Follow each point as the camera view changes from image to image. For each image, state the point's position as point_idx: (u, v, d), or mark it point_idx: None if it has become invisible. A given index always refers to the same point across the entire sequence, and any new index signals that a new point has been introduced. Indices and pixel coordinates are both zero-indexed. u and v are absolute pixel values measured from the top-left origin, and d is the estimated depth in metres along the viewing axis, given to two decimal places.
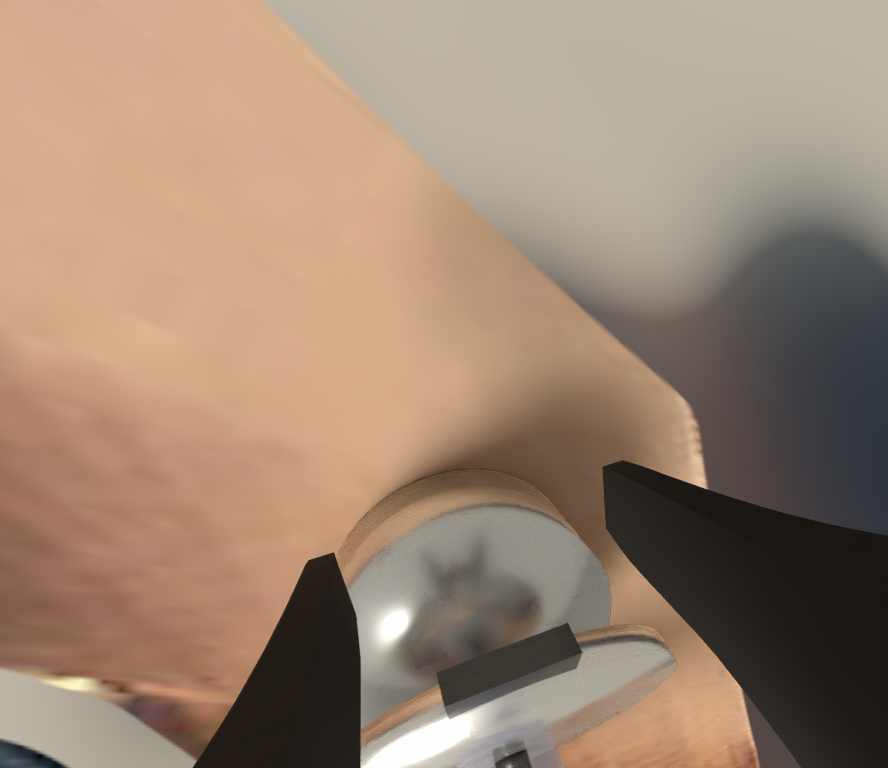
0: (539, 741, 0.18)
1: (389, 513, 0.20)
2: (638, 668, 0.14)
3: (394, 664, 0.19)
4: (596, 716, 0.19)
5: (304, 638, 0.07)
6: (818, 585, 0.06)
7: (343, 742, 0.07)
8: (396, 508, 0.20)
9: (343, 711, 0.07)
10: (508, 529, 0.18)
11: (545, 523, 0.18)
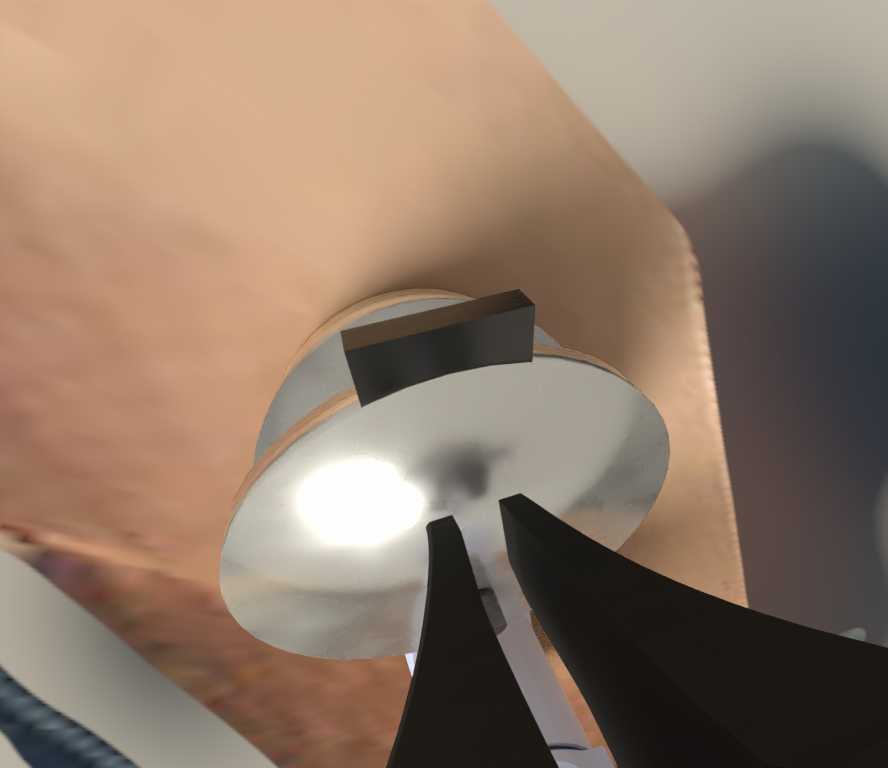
0: (508, 574, 0.15)
1: (334, 320, 0.17)
2: (619, 421, 0.12)
3: None
4: None
5: (466, 582, 0.07)
6: (638, 657, 0.05)
7: None
8: (342, 315, 0.17)
9: None
10: None
11: None
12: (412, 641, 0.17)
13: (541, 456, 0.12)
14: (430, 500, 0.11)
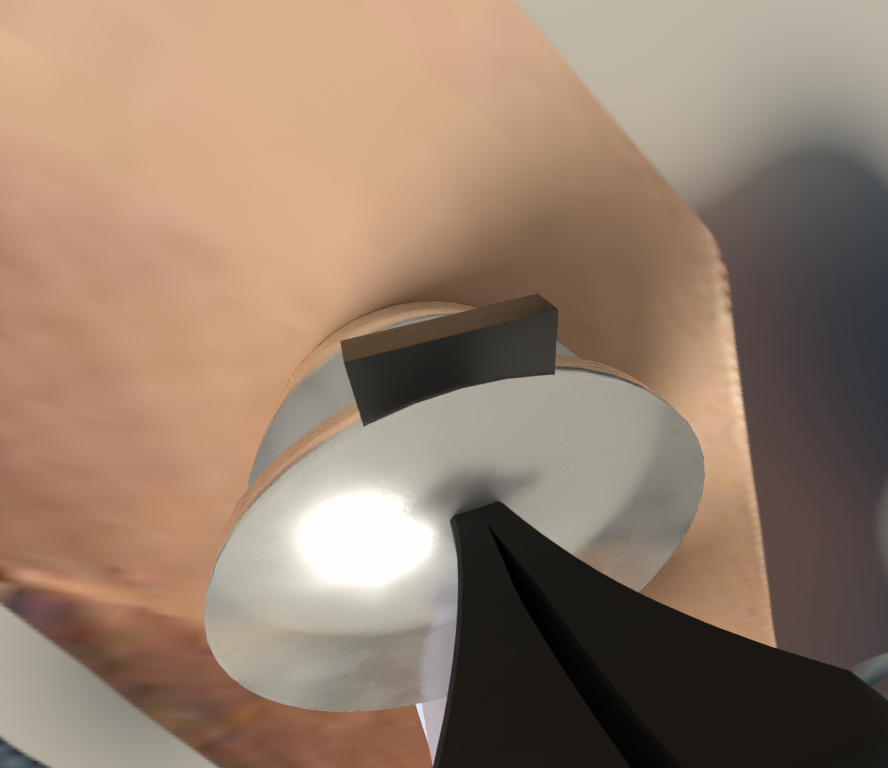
0: None
1: (337, 336, 0.15)
2: (650, 441, 0.10)
3: None
4: None
5: (497, 571, 0.07)
6: (597, 674, 0.05)
7: None
8: (345, 331, 0.15)
9: None
10: None
11: None
12: (422, 689, 0.15)
13: (564, 481, 0.10)
14: (441, 532, 0.10)
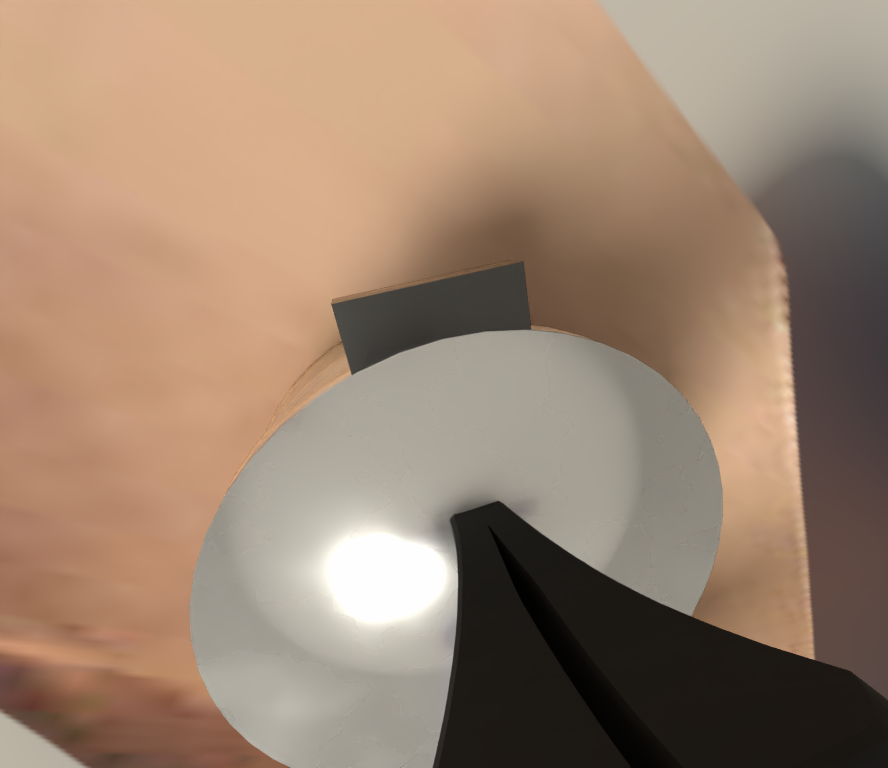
0: None
1: (335, 355, 0.13)
2: (645, 414, 0.10)
3: None
4: None
5: (497, 571, 0.07)
6: (596, 674, 0.05)
7: None
8: None
9: None
10: None
11: None
12: None
13: (561, 457, 0.10)
14: (437, 512, 0.10)
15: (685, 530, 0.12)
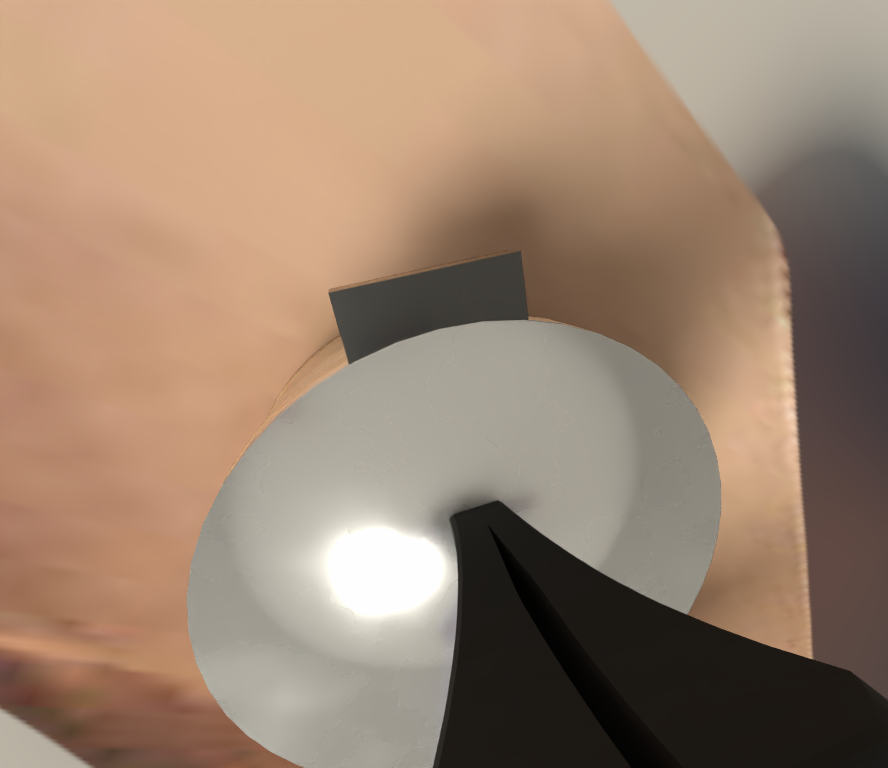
0: None
1: (333, 348, 0.12)
2: (643, 406, 0.10)
3: None
4: None
5: (497, 571, 0.07)
6: (597, 674, 0.05)
7: None
8: None
9: None
10: None
11: None
12: (432, 754, 0.13)
13: (559, 449, 0.10)
14: (434, 503, 0.10)
15: (683, 523, 0.12)
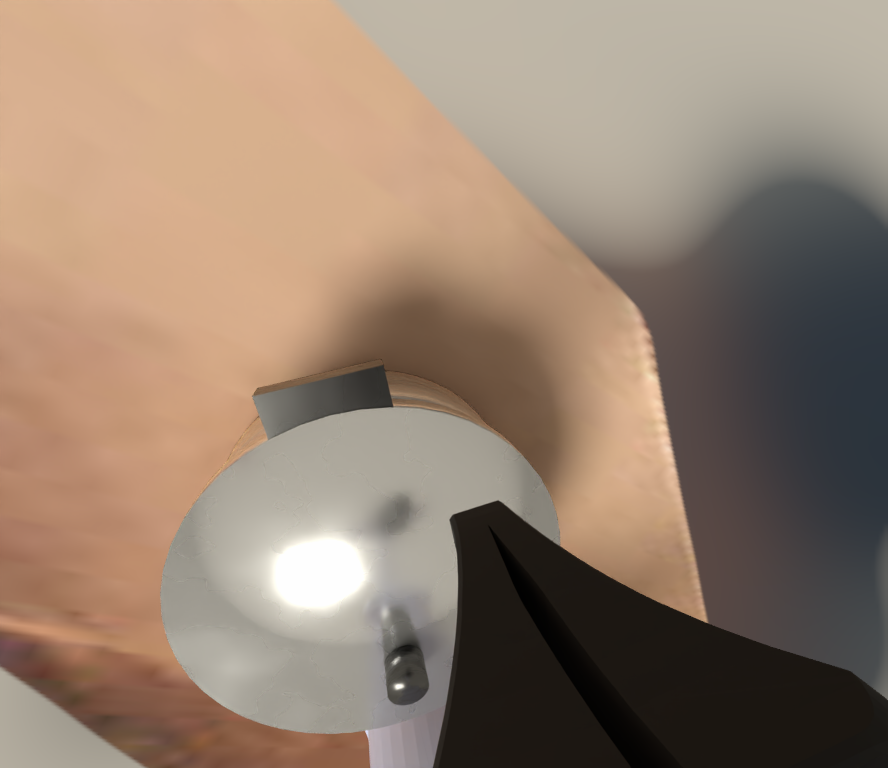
0: (431, 628, 0.17)
1: None
2: (485, 461, 0.15)
3: None
4: None
5: (497, 571, 0.07)
6: (597, 674, 0.05)
7: None
8: None
9: None
10: None
11: None
12: (346, 713, 0.17)
13: (424, 491, 0.15)
14: (334, 529, 0.14)
15: None
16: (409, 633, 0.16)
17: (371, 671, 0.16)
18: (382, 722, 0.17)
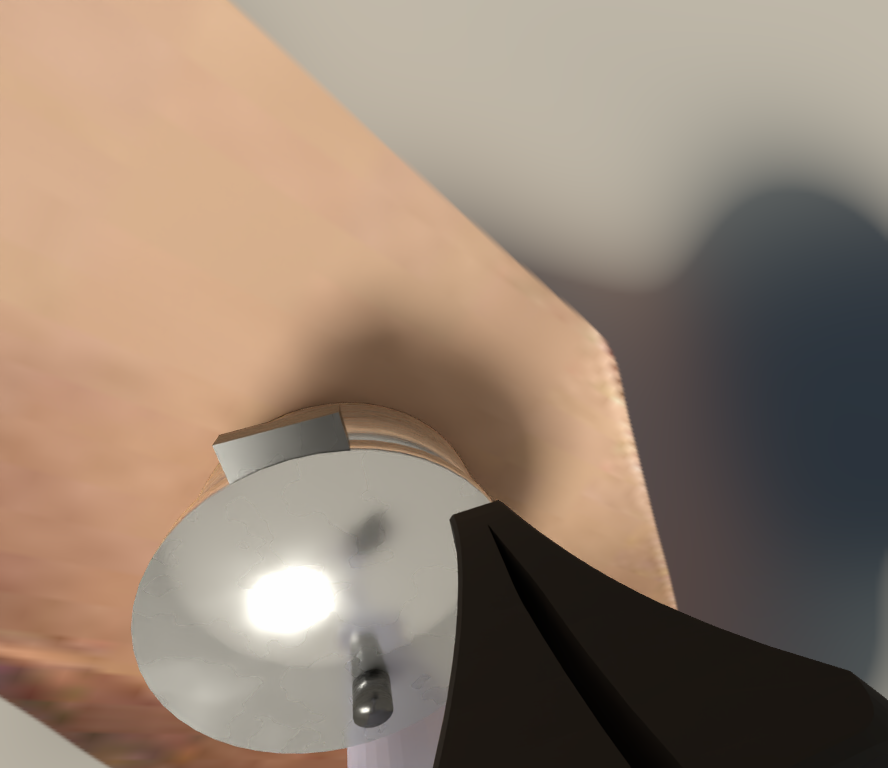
0: (396, 653, 0.17)
1: None
2: (442, 497, 0.15)
3: None
4: None
5: (497, 571, 0.07)
6: (597, 674, 0.05)
7: None
8: None
9: None
10: None
11: None
12: (317, 734, 0.18)
13: (384, 527, 0.15)
14: (297, 564, 0.15)
15: None
16: (375, 658, 0.17)
17: (339, 694, 0.17)
18: (352, 742, 0.18)
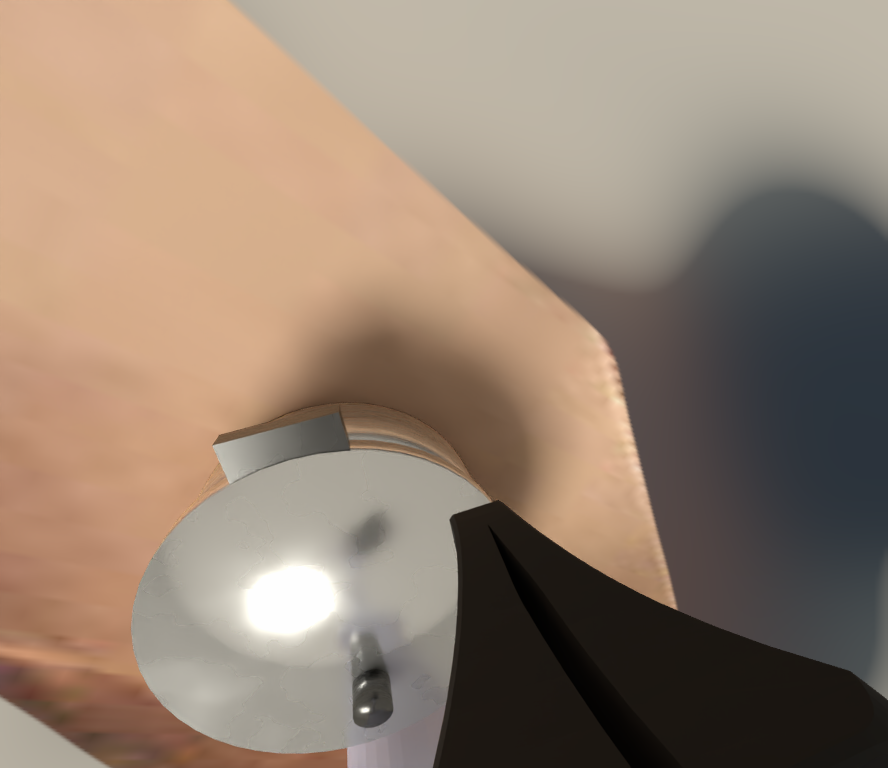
0: (396, 653, 0.17)
1: None
2: (442, 497, 0.15)
3: None
4: None
5: (497, 571, 0.07)
6: (597, 674, 0.05)
7: None
8: None
9: None
10: None
11: None
12: (317, 734, 0.18)
13: (384, 527, 0.15)
14: (297, 564, 0.15)
15: None
16: (375, 658, 0.17)
17: (339, 694, 0.17)
18: (352, 742, 0.18)
